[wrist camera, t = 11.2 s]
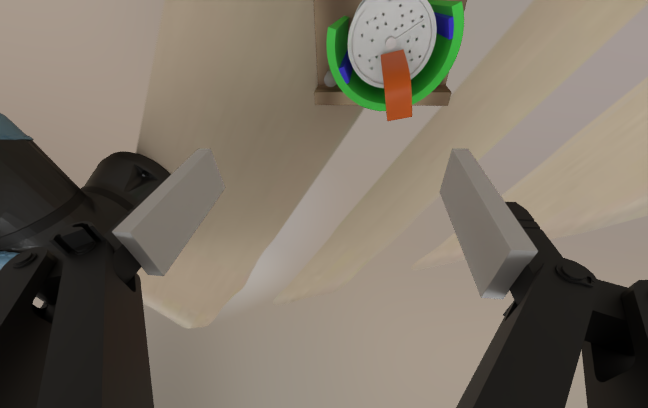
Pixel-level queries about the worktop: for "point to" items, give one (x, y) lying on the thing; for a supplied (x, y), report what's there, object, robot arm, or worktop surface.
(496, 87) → the worktop surface
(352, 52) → the green-shelled ribbed roller
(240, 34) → the worktop surface
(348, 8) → the housing
